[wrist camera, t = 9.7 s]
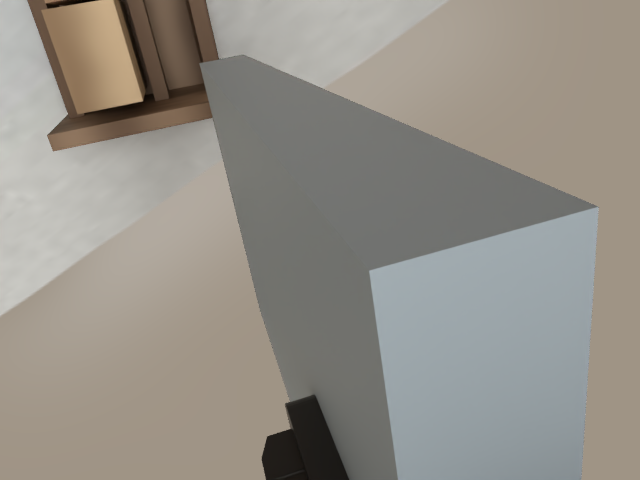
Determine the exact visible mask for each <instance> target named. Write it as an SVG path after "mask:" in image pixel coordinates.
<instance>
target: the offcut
mask: <svg viewBox="0 0 640 480" xmlns="http://www.w3.org/2000/svg"><path fill="white" fill-rule="evenodd" d="M41 11H42V14H43V17H44V20H45V23H46V25H47V28H48V31H49V34H50V37H51V40H52V43H53V45H54V48H55V51H56V54H57V57H58V60H59V63H60V65H61V68H62V71H63V74H64V77H65V80H66V83H67V85H68V88H69V91H70V94H71V97H72V100H73V102H74V105H75V108H76V111H77V114H82V113H87V112H92V111H97V110H102V109H107V108H112V107H117V106H122V105H127V104H132V103H137V102H142V101H143V99H144V95H145V91H146V87H147V81H146V77H145V74H144V71H143V67H142V64H141V60H140V57H139V53H138V50H137V46H136V43H135V39H134V36H133V32H132V29H131V25H130V22H129V18H128V15H127V12H126V8H125V5H124V2H121V1H119V0H99V1H93V2H86V3H80V4H74V5H68V6H62V7H56V8H50V9H44V10H41Z"/></svg>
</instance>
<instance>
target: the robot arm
mask: <svg viewBox="0 0 640 480" xmlns="http://www.w3.org/2000/svg"><path fill="white" fill-rule="evenodd" d="M285 407H286V411H287V415H288V420H289V423H290V428H291V429H289V430H286V431H283V432H280V433H277V434H273V435H270V436H268V437H267V440H266V444H265V448H264V451H263V455H262V463H263V467H264V472H265V476H266V480H349V478H348V475H347V473H346V470H345V468H344V465H343V463H342V460H341V458H340V455H339V453H338V450H337V448H336V445H335V443H334V440H333V438H332V435H331V433H330V430H329V428H328V425H327V423H326V420H325V418H324V415H323V413H322V410H321V408H320V405H319V403H318V400H317V398H316V396H315V395H311V396H307V397H304V398H301V399H298V400H295V401H292V402H289V403H286V404H285Z"/></svg>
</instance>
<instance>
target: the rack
mask: <svg viewBox="0 0 640 480" xmlns="http://www.w3.org/2000/svg"><path fill="white" fill-rule="evenodd" d="M119 1H121V2H124V5H125V8H126V12H127V15H128V18H129V22H130V25H131V29H132V32H133V36H134V39H135V43H136V46H137V50H138V53H139V57H140V60H141V64H142V67H143V71H144V74H145V77H146V81H147V87H146V91H145V95H144V99H143V101H142V102H137V103H132V104H127V105H122V106H117V107H112V108H107V109H102V110H97V111H92V112H87V113H82V114H77V111H76V108H75V105H74V102H73V100H72V97H71V94H70V91H69V88H68V85H67V83H66V80H65V77H64V74H63V71H62V68H61V65H60V63H59V60H58V57H57V54H56V51H55V48H54V45H53V43H52V40H51V37H50V34H49V31H48V28H47V25H46V23H45V20H44V17H43V14H42V11H41V10H44V9H50V8H56V7H62V6H63V5H55V4H47V3H45V1H44V0H28V3H29V6H30V9H31V12H32V14H33V17H34V20H35V23H36V26H37V28H38V31H39V34H40V37H41V40H42V42H43V45H44V48H45V51H46V53H47V56H48V59H49V62H50V65H51V67H52V70H53V73H54V76H55V79H56V81H57V84H58V87H59V90H60V93H61V95H62V98H63V101H64V104H65V107H66V109H67V112H68V115H67V116H66V117H65V118H64V119H63V120H62V121H61V122H60V123H59V124H58V125H57V126H56V127H55V128H54V129H53V130H52V131H51V132H50V133H49V134H48V135H47V136H48V139H49V142H50V144H51V147H52V149H53V151H57V150H62V149H67V148H72V147H76V146H81V145H86V144H90V143H95V142H100V141H105V140H109V139H114V138H119V137H123V136H128V135H133V134H138V133H142V132H147V131H152V130H157V129H161V128H166V127H171V126H175V125H180V124H185V123H190V122H194V121H199V120H204V119H209V118H213V117H212V113H211V109H210V105H209V100H208V96H207V92H206V88H205V84H204V80H203V76H202V72H201V68H200V64H199V63H203V62H209V61H214V60H219V57H218V53H217V49H216V44H215V40H214V35H213V31H212V27H211V22H210V18H209V13H208V9H207V5H206V0H119Z"/></svg>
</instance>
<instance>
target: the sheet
mask: <svg viewBox="0 0 640 480" xmlns="http://www.w3.org/2000/svg"><path fill="white" fill-rule="evenodd" d="M199 64H200V68H201V72H202V76H203V80H204V84H205V88H206V92H207V96H208V100H209V105H210V109H211V113H212V117H213V121H214V125H215V129H216V133H217V137H218V141H219V145H220V149H221V153H222V157H223V162H224V165H225V170H226V174H227V178H228V181H229V186H230V190H231V194H232V198H233V202H234V206H235V210H236V214H237V219H238V223H239V227H240V231H241V235H242V239H243V243H244V247H245V251H246V255H247V259H248V263H249V267H250V271H251V276H252V280H253V283H254V288H255V292H256V296H257V300H258V304H259V308H260V311H261V314H262V317H263V320H264V324H265V327H266V329H267V333H268V336H269V339H270V342H271V345H272V348H273V351H274V354H275V357H276V360H277V363H278V366H279V369H280V372H281V375H282V378H283V381H284V384H285V387H286V390H287V394H288V397H289V400H290V402H292V401H295V400H298V399H301V398H304V397H307V396H311V395H315V396H316V398H317V400H318V403H319V405H320V408H321V410H322V413H323V415H324V418H325V420H326V423H327V425H328V428H329V430H330V433H331V435H332V438H333V440H334V443H335V445H336V448H337V450H338V453H339V455H340V458H341V460H342V463H343V465H344V468H345V470H346V473H347V475H348V478H349V480H581V475H582V459H583V443H584V428H585V412H586V396H587V381H588V364H589V349H590V333H591V318H592V302H593V286H594V271H595V255H596V239H597V224H598V223H597V222H598V208H599V207H598V206H595V205H593V204H591V203H589V202H586V201H584V200H581V199H579V198H577V197H575V196H572V195H570V194H567V193H565V192H563V191H560V190H558V189H556V188H553V187H551V186H549V185H546V184H544V183H542V182H539V181H537V180H535V179H532V178H530V177H528V176H525V175H523V174H521V173H518V172H516V171H514V170H511V169H509V168H507V167H504V166H502V165H500V164H497V163H495V162H493V161H490V160H488V159H486V158H483V157H481V156H479V155H476V154H474V153H472V152H469V151H467V150H465V149H462V148H460V147H458V146H455V145H453V144H451V143H448V142H446V141H444V140H441V139H439V138H437V137H434V136H432V135H430V134H427V133H425V132H423V131H420V130H418V129H416V128H413V127H411V126H409V125H406V124H404V123H402V122H399V121H397V120H395V119H392V118H390V117H388V116H385V115H383V114H381V113H378V112H376V111H374V110H371V109H369V108H367V107H364V106H362V105H359V104H357V103H355V102H353V101H350V100H348V99H345V98H343V97H341V96H338V95H336V94H334V93H331V92H329V91H327V90H325V89H322V88H320V87H318V86H315V85H313V84H310V83H308V82H306V81H303V80H301V79H299V78H296V77H294V76H292V75H289V74H287V73H285V72H282V71H280V70H278V69H275V68H273V67H271V66H268V65H266V64H264V63H261V62H259V61H257V60H254V59H252V58H250V57H247V56H245V55H239V56H234V57H229V58H224V59H219V60H214V61H209V62H203V63H199Z"/></svg>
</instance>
